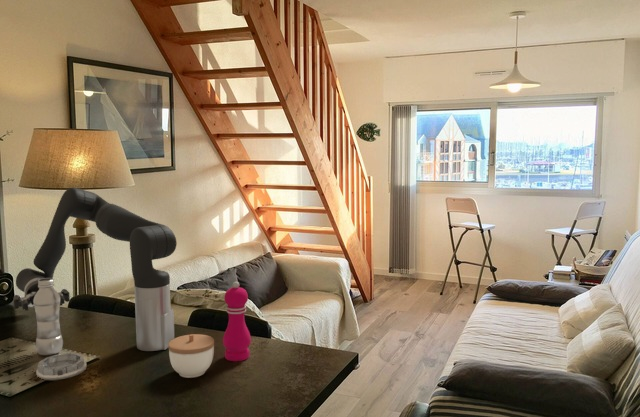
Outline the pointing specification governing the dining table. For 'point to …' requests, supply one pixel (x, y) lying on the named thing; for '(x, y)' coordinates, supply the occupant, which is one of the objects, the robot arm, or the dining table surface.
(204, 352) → the lidded jar
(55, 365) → the tray
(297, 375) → the dining table surface
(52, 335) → the plastic bottle
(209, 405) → the dining table surface
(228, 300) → the pepper mill
